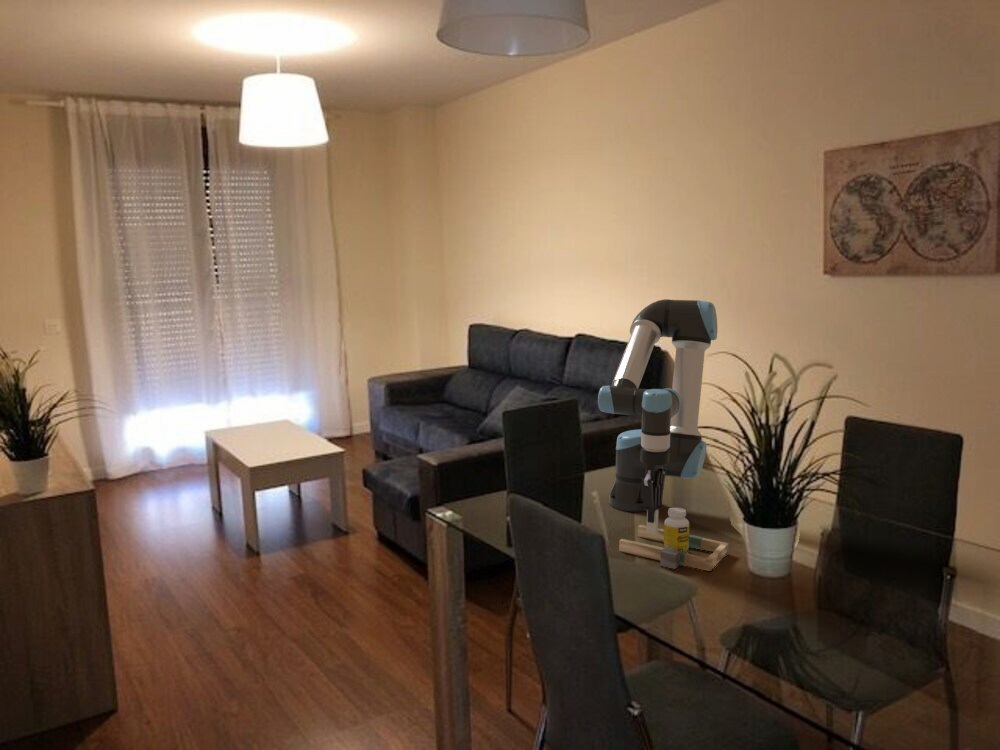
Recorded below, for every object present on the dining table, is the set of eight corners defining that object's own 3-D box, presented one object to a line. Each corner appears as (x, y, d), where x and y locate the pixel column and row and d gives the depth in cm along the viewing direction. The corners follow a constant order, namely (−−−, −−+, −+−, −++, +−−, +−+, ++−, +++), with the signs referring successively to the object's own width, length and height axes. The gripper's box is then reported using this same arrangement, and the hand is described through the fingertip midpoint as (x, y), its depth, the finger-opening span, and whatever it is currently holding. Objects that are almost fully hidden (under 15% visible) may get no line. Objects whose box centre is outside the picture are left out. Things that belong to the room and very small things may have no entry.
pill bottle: (672, 557, 213) (673, 514, 211) (658, 550, 219) (659, 508, 217) (693, 554, 215) (694, 511, 214) (679, 547, 221) (680, 505, 220)
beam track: (640, 534, 230) (640, 521, 229) (727, 553, 217) (728, 539, 216) (613, 555, 215) (614, 540, 215) (706, 577, 202) (706, 562, 201)
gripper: (650, 440, 223) (647, 522, 228) (632, 451, 212) (629, 537, 217) (677, 444, 220) (673, 527, 224) (660, 456, 209) (656, 543, 213)
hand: (651, 532), depth 220 cm, fingers closed
